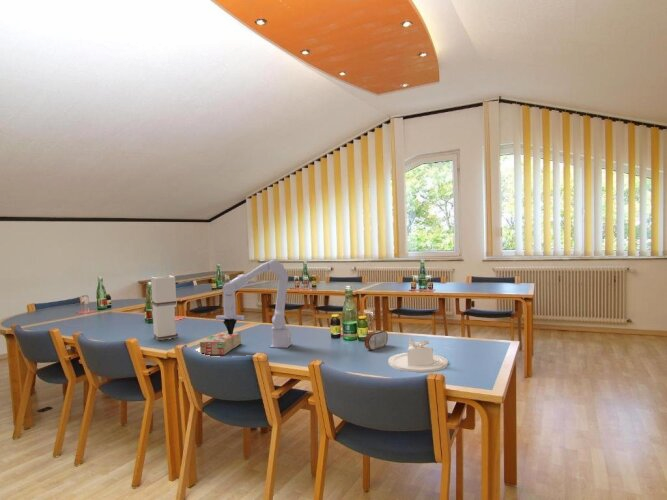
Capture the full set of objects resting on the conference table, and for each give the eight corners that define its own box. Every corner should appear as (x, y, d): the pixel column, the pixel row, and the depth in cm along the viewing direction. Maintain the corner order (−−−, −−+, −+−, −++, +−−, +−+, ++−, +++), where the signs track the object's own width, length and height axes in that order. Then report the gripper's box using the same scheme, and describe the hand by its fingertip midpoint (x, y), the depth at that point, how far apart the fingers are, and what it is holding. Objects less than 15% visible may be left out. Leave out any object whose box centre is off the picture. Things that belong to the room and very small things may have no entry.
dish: (456, 370, 171) (456, 342, 171) (395, 374, 169) (394, 346, 169) (437, 353, 196) (436, 329, 195) (383, 356, 194) (382, 332, 193)
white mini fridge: (178, 337, 244) (175, 276, 243) (158, 341, 238) (155, 278, 237) (173, 334, 253) (170, 275, 252) (154, 337, 247) (150, 277, 246)
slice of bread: (384, 344, 214) (383, 328, 213) (389, 345, 211) (388, 328, 211) (364, 351, 203) (363, 333, 203) (369, 352, 201) (368, 334, 201)
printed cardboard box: (241, 343, 225) (220, 343, 227) (241, 331, 224) (219, 331, 227) (223, 354, 204) (199, 354, 206) (223, 341, 204) (199, 341, 206)
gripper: (212, 308, 211) (213, 335, 211) (239, 308, 207) (240, 336, 208) (219, 305, 217) (220, 332, 218) (245, 306, 214) (246, 332, 215)
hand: (230, 334), depth 213 cm, fingers closed
